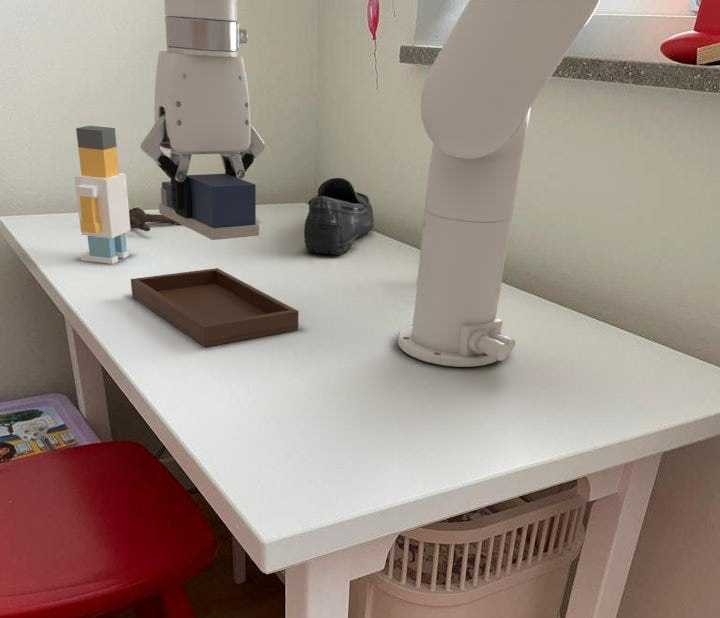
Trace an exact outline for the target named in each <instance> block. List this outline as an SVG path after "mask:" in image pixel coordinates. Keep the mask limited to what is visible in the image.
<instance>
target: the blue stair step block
mask: <svg viewBox="0 0 720 618" xmlns="http://www.w3.org/2000/svg"><path fill="white" fill-rule="evenodd" d="M186 178H187V181H188V182H190V184H191V199H192V217H191V218H184V217H182V216H180V215H178V214H176V212H175V209H174V208H173V206H172V195H171V181H162V182H161V187H160V198H161V199H160V201H161V203H158V210H159V215H163V216H165V217H167V218H169V219H171V220H173V221H175V222H177V223H176V224H178V223H179V224H178V225H181V226H183V227H185V228H188V229H189V230H192V231H193V232H196V233H198V234H199V235H201V236H204V237H205V238H208V239H209V240H211V241H217V240H218V241H219V240H228V239H238V238H249V237H259V236H260V225H259V224H258V223H257V220H256V219H257V218H256V215H257V214H256V212H257V211H256V207H257V206H256V205H257V204H256V203H257V201H256V196H257V195H256V189H257V187H256V186H257V185H256V184H255V183H252V182H249V181H247V180H245V179H239V178H236V177H234V176H231V175H228V174H225V173H208V174H187V176H186Z"/></svg>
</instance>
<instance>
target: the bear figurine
mask: <svg viewBox="0 0 720 618" xmlns="http://www.w3.org/2000/svg"><path fill="white" fill-rule="evenodd" d="M129 218H130V226H134V227H137V228H138V229H139V230H141V231H144V232H149V231H151V228H150V226H149V225H147V223H160V224H167V223H168V224H170V225H171V224H172V225H174V224H178V225H180V224H179V223H177V222H175V221H173V220H171V219H169V218H167V217H165V216H163V215H161V214H158V213H156V214H155V213H154V214H150V213H146V212H145V211H144V209H142V208H140V207H132V208H131V209H129Z"/></svg>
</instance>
